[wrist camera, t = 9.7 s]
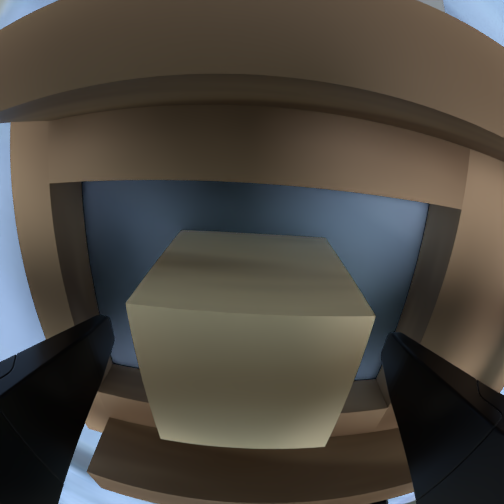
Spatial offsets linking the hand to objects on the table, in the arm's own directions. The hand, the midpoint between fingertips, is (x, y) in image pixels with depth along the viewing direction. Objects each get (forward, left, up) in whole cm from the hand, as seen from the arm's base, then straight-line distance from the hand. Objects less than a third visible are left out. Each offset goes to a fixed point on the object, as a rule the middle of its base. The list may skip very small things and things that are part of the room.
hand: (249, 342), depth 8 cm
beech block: (0, 0, -3) cm, 3 cm away
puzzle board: (0, -4, -3) cm, 5 cm away
